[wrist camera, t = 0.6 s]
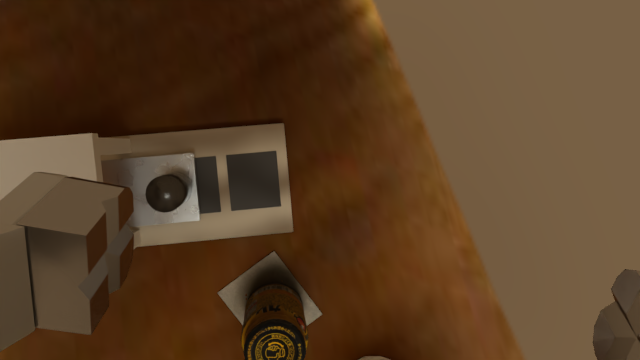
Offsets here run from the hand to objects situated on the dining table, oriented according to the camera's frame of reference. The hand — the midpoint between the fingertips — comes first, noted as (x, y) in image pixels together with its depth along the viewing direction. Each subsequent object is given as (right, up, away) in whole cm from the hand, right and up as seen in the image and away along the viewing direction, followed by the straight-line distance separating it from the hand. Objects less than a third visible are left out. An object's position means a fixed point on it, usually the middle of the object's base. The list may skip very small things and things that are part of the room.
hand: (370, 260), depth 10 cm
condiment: (-6, -12, +51) cm, 52 cm away
